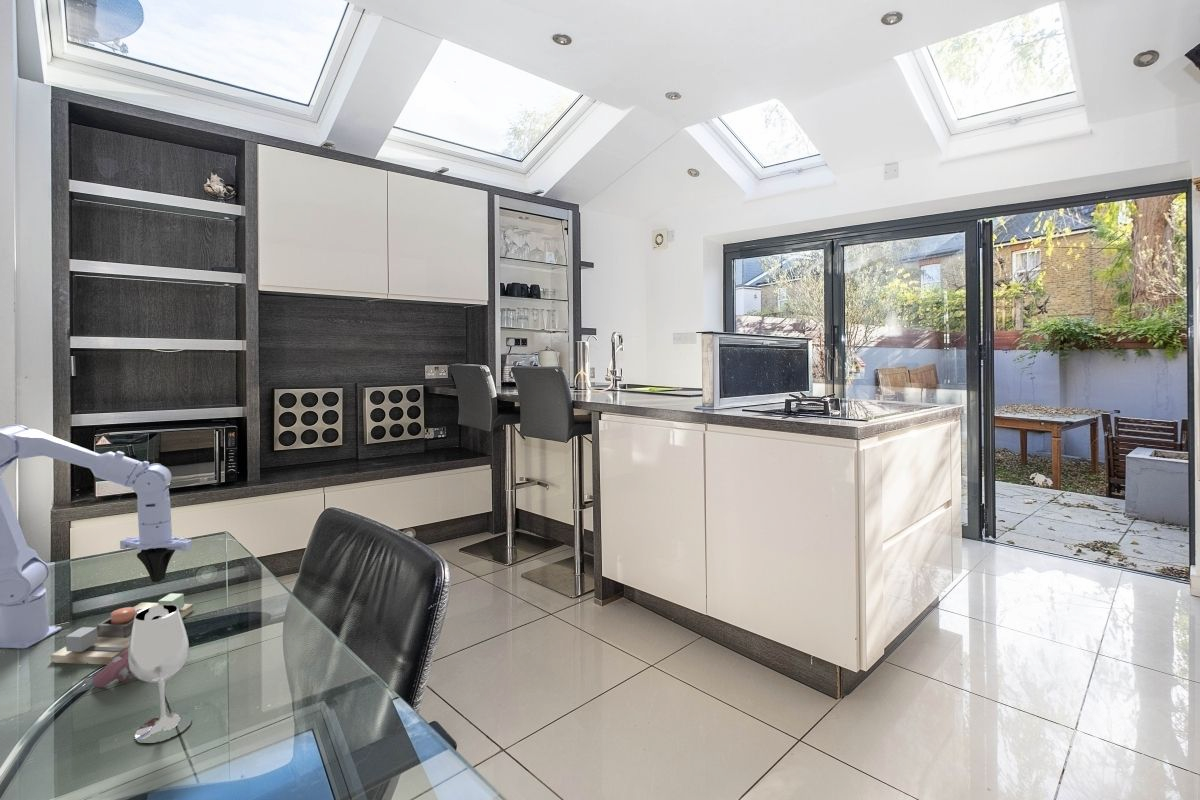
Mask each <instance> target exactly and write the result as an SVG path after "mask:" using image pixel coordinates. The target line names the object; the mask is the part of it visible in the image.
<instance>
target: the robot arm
mask: <svg viewBox="0 0 1200 800" xmlns="http://www.w3.org/2000/svg"><path fill="white" fill-rule="evenodd" d="M35 457H47V458H51V459H55V460H59V461H62V462H65V463H69V464H72V465H76V466H78V467H83V468H87V469H89V470H90V471H91V473H92V474H93V476H94V478H98V479H102V480H104V481H108V482H111V483H113V484H117V485H120V486H124V487H126V488H131V489H132V490H133V492H134V493H135V494H136V496H137V503H136V507H137V508H136V509H137V525H138V537H125V538H123V539H121V540H119V547H120V550H126V549H138V550H140V551H139V552H137V554H136V557H137V559H138V560H139V561H140V562H141V563H142V564H143V565H144V568H145V569H146V571H147V573H148V575H149V578H150V581H151V582H152V583H159V582H161V581H163V580H165V577H166V574H167V568H168V565H169V563H170V561H171V559H172V557H173V555H174V553H175V552H176V551H181V552H187V551H189V550H191V549H192V548H193V539H186V538H181V537H176V536H173V533H172V532H173V530H172V513H171V512H172V511H171V497H170V491H169V490H170V489H169V487H168V486H169V484H170V483H171V481H172V471H170V470H169V468H168V467H166V466H165V465H162V464H161V463H151V464H150V462H149V461H147V460H144V461H140V460H137V459H135V458H131V457H130V456H129V457H128V456H125V452H123V451H121V450H118V451H115V452H113V451H107V452H104V453H99V452H96V451H92V450H90V449H88V448H85V447H82V446H80V445H77V444H74V443H71V442H69V441H66V440H64V439H61V438H58V437H56V436H53V435H51V434H48V433H46V432H44V431H41V430H40V429H36V428H28V427H27V426H25V425H21V424H8V425H5V426H2V427H1V428H0V648H1V649H28V648H30V647H31V646H33V645H35V644H37V643H38V642H41V641H42V640H44V639H46V638H48V637H50V636H51V635H53V634H56V633H57V632H59V631H61V630H62V626H55V625H54V626H53V625H52V626H51V625H50V618H49V608H48V597H47V589H46V587H45V586H44V584H45V581H47V579H49V576H50V573H51V571H50V567H49V565H48V563H46V562H45V561H43V559H41V558H40V556H39V554H38V552H37V550H36V549H33V548H31V547H30V546H28V544H27V540H26V538H25V536H24V533H23V531H22V527H21V525H20V522H19V520H18V517H17V514H16V512H15V509H14V507H13V505H12V502H11V499H10V497H9V494H8V491H7V489H6V486H5V484H4V481H3V478H2V474H3V473H4V472H5V471H6V470H7V469H8V468H9V467H10V466H11V465H12V463H13V462H14V461H16V460H17V459H18V460H21V459H30V458H35Z"/></svg>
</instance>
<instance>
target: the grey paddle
mask: <svg viewBox="0 0 1200 800" xmlns="http://www.w3.org/2000/svg"><path fill="white" fill-rule="evenodd" d="M64 637H65V646H66V650H67V651H76V652H82V651H84V650H85V649H87V648H89V647H90V646H92V645H94V644H95V643H97V642H98V634H97V627H92V626H91V627H89V626H87V627H86V626H85V627H84V626H81V627H80V628H78V629H76V630H75V631H72V632H71V633H69V634H67V635H66V636H64Z"/></svg>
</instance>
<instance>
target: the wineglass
mask: <svg viewBox="0 0 1200 800" xmlns="http://www.w3.org/2000/svg"><path fill="white" fill-rule="evenodd" d="M189 643H190V642H189V637H188V634H187V630H186V627H185V624H184V621H183V618H182V617H181V615H180V612H179V609H178V607H177V606H175V605H171V604H166V605H158V606H153V607H150V608H147V609H144V610H142V611H140V612H139V613H137V614H136V615H135V618H134V623H133V627H132V632H131V637H130V643H129V650H128V665H129V669H130V671H131V675H132V676H133V677H135V678H136V679H137V680H140V681H142V682H146V683H155V684H156V686H157V689H158V697H159V712H160V713H159V714H160V715H159V716H160V717H159V718H156V717H154V718H152V719H150V720H148V721H146V722H145V723H144V724H142V725H141V726H139V728H138V729H136V731H135V732H134V737H135V738H134V740H135V739H145V738H147V737H149V736H150V735H151V734H154V733H156V732H159V731H166V730H171V729H172V728H175V727H176V726H177V725H178V722H179V721H180V719H181V718H180V717H179V715H178V714H176V713H173V712H170V713H171V714H168V713H167V712H166V698H165V697H166V696H165V684H166V681H167V680H168V679H170V678H172V677H173V676H174V675H175V674H177V673H178V672H179V671H180V670H181V669H182V668H183V666H184V665H185V663H186V661H187V659H188V657H189V654H190V652H189V651H190V644H189ZM166 714H168V715H166Z"/></svg>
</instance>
